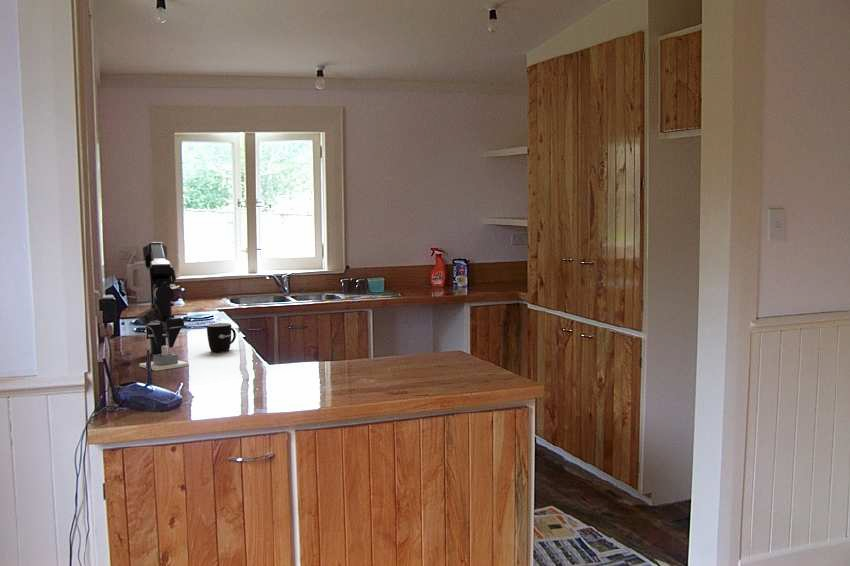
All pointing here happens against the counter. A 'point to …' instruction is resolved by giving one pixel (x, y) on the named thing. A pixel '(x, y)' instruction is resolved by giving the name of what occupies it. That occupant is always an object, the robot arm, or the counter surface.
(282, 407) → the counter surface
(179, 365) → the peg board
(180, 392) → the counter surface
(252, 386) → the counter surface
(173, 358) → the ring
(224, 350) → the mug
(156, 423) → the counter surface
